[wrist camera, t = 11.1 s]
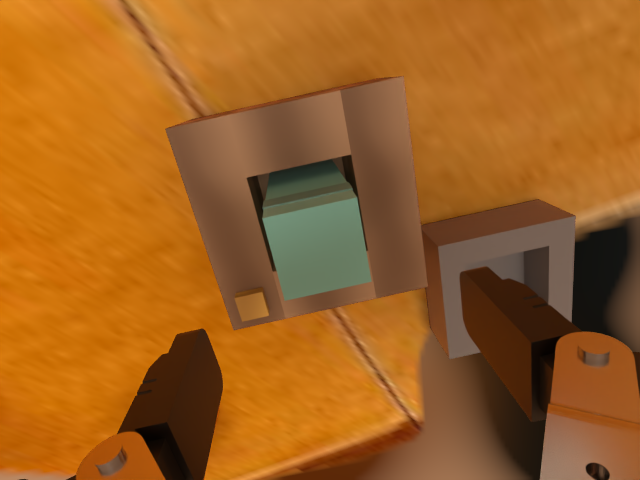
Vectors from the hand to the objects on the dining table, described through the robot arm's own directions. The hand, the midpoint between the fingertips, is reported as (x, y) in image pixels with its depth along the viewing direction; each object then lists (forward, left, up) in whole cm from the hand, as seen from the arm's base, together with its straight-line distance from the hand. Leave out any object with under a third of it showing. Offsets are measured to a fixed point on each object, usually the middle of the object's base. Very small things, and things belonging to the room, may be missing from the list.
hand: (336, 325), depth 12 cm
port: (0, 0, -17) cm, 17 cm away
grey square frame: (-12, +9, -17) cm, 22 cm away
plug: (0, 0, -16) cm, 16 cm away
